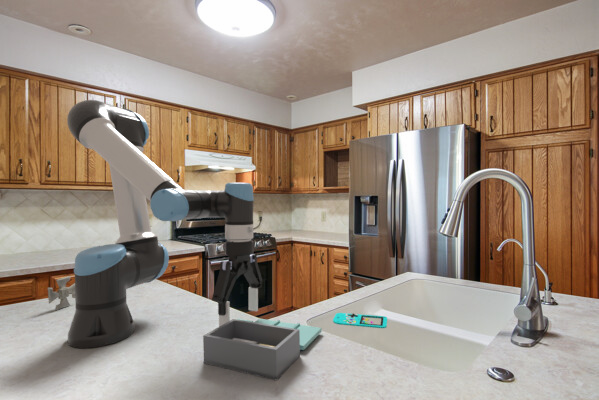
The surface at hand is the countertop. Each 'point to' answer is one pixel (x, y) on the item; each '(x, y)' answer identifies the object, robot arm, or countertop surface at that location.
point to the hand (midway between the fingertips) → (239, 318)
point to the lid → (305, 331)
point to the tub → (252, 348)
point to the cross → (62, 293)
